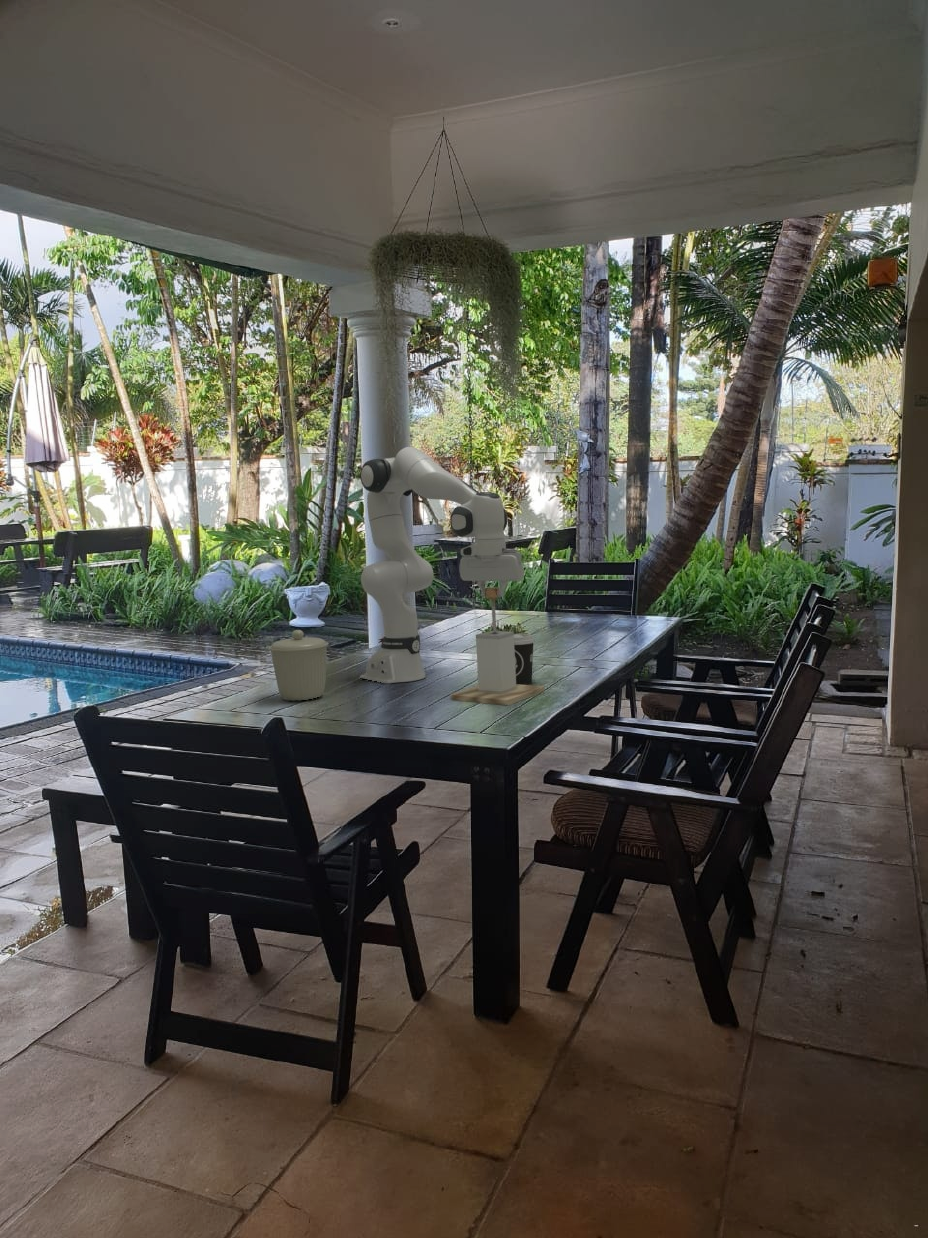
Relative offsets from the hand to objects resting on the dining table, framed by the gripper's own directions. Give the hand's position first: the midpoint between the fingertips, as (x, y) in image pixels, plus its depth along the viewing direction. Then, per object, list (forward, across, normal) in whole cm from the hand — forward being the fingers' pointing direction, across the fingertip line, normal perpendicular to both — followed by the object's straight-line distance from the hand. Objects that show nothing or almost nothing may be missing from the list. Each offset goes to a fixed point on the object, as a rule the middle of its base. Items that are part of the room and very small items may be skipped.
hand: (492, 596), depth 284 cm
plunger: (+18, 0, 0) cm, 18 cm away
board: (+29, 0, 0) cm, 29 cm away
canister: (+30, +55, +25) cm, 67 cm away
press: (+28, 0, -1) cm, 28 cm away
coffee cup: (+30, +3, -18) cm, 35 cm away
